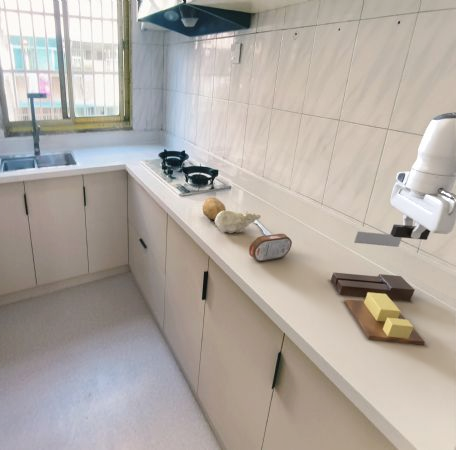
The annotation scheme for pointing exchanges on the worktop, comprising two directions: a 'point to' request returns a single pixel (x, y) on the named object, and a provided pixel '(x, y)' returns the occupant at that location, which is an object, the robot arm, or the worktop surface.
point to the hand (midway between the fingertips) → (409, 234)
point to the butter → (381, 306)
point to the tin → (270, 247)
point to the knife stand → (372, 285)
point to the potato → (212, 207)
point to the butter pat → (398, 328)
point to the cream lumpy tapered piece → (234, 221)
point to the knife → (389, 236)
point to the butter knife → (262, 227)
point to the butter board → (377, 324)
